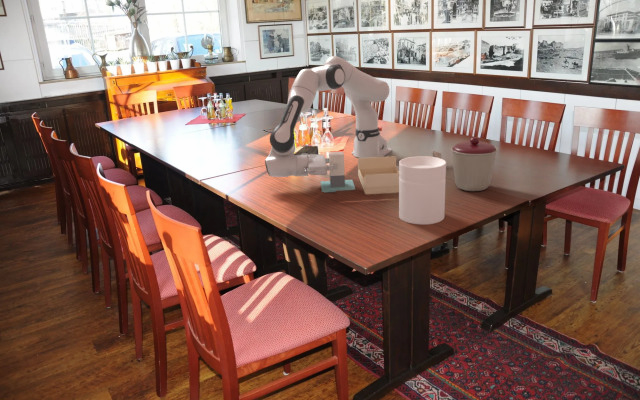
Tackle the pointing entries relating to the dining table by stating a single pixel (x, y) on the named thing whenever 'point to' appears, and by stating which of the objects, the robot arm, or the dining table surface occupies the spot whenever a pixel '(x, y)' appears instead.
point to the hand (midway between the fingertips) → (336, 163)
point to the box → (337, 174)
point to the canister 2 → (473, 164)
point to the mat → (327, 187)
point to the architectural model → (436, 154)
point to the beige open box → (378, 175)
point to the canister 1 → (422, 189)
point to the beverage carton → (308, 150)
